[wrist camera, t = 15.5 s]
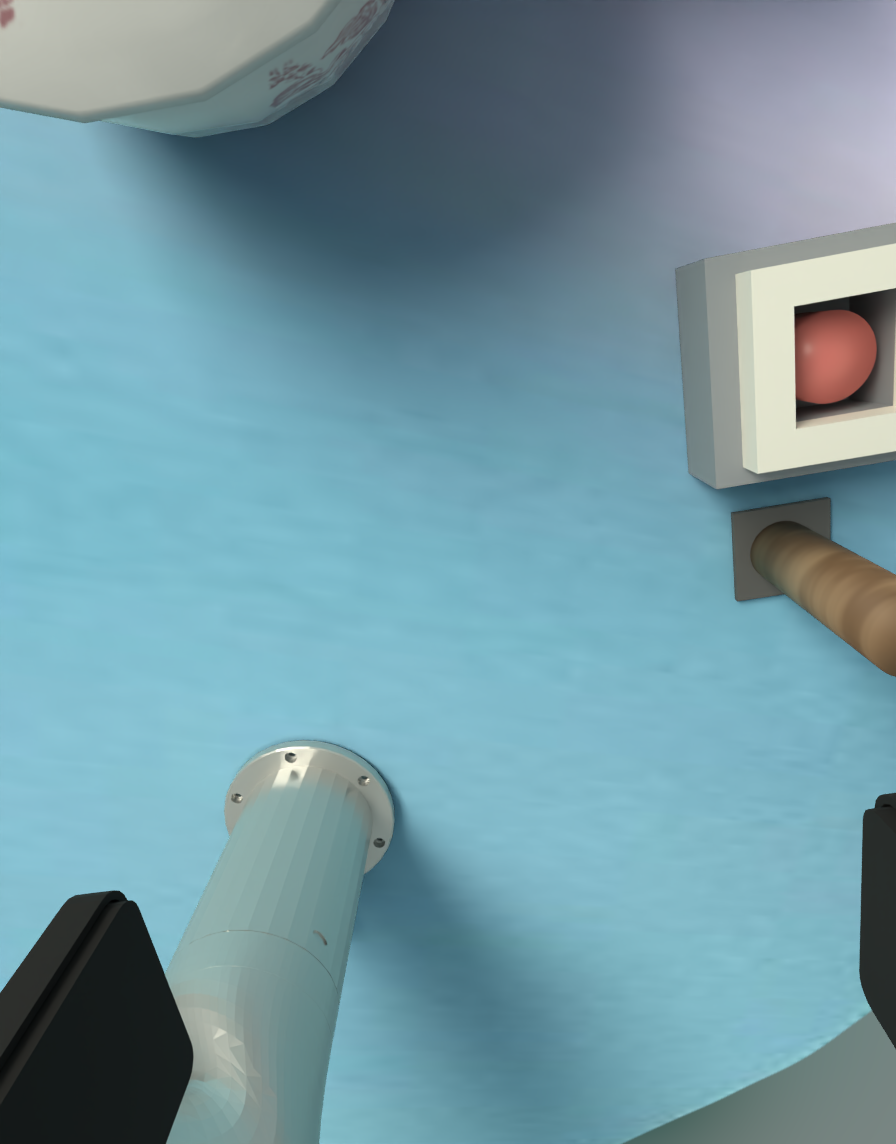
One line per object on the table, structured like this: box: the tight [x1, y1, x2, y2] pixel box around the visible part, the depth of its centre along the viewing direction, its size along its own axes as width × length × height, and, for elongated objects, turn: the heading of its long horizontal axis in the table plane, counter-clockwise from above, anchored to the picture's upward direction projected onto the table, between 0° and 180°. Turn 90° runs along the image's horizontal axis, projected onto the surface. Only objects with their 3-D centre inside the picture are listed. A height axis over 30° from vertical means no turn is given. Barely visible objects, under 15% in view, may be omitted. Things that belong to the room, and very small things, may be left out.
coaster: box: [731, 497, 830, 601], centre depth 44 cm, size 6×6×1 cm
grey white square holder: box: [675, 223, 896, 489], centre depth 37 cm, size 12×13×7 cm
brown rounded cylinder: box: [750, 521, 896, 677], centre depth 37 cm, size 4×4×14 cm
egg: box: [794, 310, 877, 404], centre depth 38 cm, size 5×5×4 cm
